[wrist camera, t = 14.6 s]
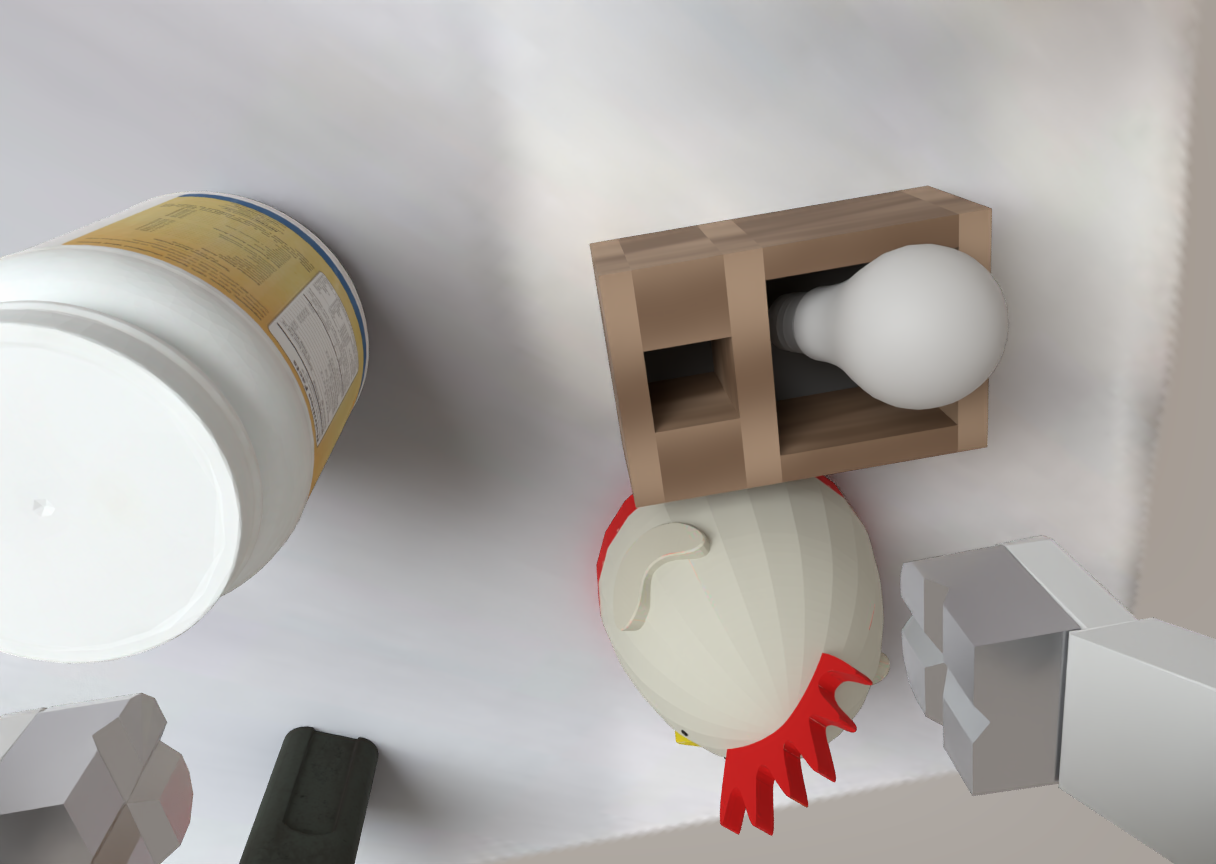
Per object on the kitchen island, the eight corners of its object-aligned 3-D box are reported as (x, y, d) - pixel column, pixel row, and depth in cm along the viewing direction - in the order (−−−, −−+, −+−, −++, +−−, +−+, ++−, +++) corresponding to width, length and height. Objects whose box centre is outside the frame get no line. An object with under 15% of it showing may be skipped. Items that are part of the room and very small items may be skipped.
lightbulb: (845, 322, 42) (1066, 331, 33) (771, 417, 41) (980, 454, 31) (781, 222, 39) (1002, 201, 30) (698, 320, 38) (904, 329, 29)
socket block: (589, 243, 39) (598, 275, 34) (927, 185, 39) (991, 208, 34) (623, 449, 43) (635, 508, 38) (929, 395, 43) (987, 446, 38)
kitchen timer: (542, 596, 46) (545, 829, 32) (714, 395, 42) (800, 562, 29) (742, 716, 50) (820, 969, 37) (915, 543, 47) (1074, 751, 33)
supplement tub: (185, 489, 42) (-19, 746, 27) (28, 249, 37) (-331, 392, 22) (421, 398, 41) (353, 609, 26) (292, 139, 36) (112, 208, 21)
